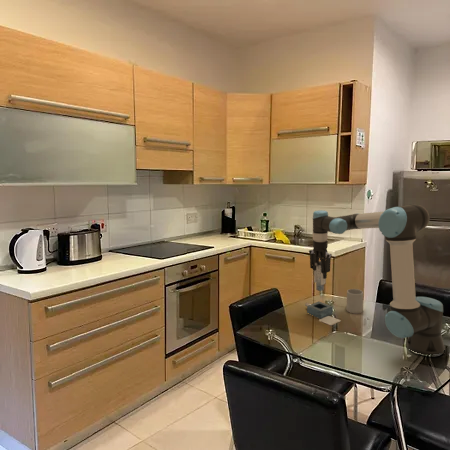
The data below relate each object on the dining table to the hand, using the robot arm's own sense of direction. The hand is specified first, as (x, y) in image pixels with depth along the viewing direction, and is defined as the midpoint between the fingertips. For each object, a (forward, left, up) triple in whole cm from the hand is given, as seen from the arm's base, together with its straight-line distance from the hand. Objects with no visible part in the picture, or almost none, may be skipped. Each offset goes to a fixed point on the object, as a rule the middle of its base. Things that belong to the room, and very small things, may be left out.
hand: (319, 282), depth 217 cm
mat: (-9, +3, -18) cm, 20 cm away
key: (0, 0, -4) cm, 4 cm away
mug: (-8, -18, -18) cm, 27 cm away
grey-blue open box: (+2, 0, -18) cm, 18 cm away
